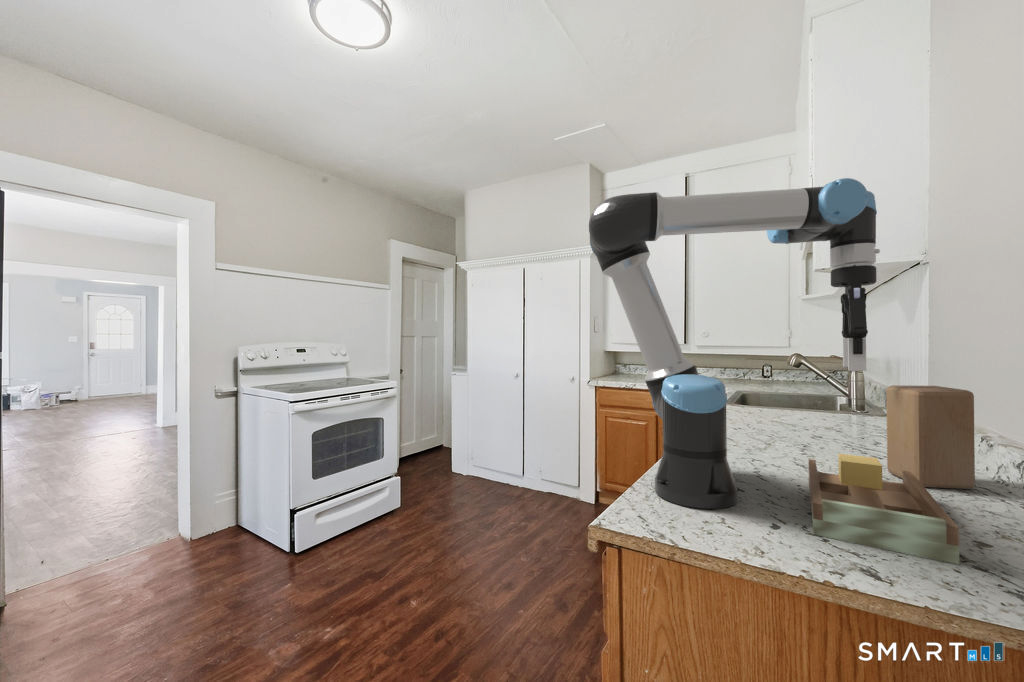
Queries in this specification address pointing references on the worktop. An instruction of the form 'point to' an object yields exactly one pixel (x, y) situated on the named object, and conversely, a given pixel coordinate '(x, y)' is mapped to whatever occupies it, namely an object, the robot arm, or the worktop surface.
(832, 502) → the tray
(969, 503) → the worktop surface
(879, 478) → the ochre block
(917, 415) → the block
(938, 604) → the worktop surface
